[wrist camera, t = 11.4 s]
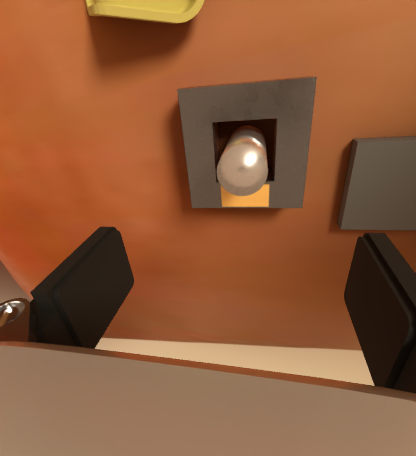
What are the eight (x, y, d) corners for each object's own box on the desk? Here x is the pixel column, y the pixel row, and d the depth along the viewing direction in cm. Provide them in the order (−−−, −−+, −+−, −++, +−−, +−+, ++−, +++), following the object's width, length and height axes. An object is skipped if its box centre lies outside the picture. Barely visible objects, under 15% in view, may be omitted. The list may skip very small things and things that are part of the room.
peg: (265, 123, 28) (268, 145, 19) (264, 161, 30) (267, 196, 21) (228, 126, 28) (215, 148, 20) (229, 162, 30) (218, 196, 22)
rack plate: (308, 76, 25) (317, 76, 21) (297, 193, 31) (302, 209, 27) (187, 87, 27) (176, 89, 23) (198, 194, 33) (191, 209, 29)
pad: (466, 133, 25) (477, 136, 24) (430, 224, 30) (438, 230, 29) (353, 138, 27) (358, 142, 26) (337, 223, 32) (340, 229, 31)
